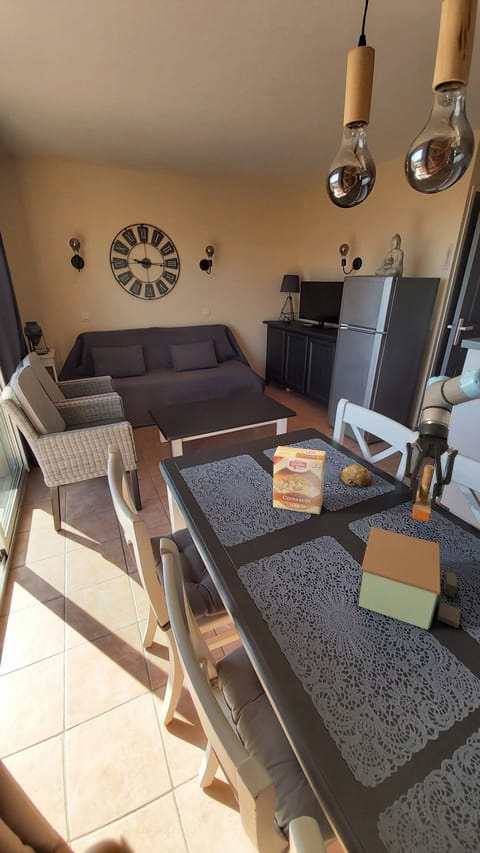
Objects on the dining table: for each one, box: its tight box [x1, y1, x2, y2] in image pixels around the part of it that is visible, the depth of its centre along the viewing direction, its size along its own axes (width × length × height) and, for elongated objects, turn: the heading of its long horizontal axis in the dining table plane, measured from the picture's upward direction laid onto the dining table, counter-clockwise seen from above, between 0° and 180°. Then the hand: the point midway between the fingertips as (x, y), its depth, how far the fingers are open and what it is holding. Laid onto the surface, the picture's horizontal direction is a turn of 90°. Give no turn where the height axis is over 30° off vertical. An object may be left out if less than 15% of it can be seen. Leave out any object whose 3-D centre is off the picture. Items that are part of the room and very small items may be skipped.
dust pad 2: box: [436, 601, 461, 629], centre depth 78 cm, size 4×4×2 cm
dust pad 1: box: [443, 571, 458, 598], centre depth 84 cm, size 4×4×2 cm
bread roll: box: [340, 463, 371, 488], centre depth 128 cm, size 10×10×8 cm
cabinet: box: [358, 526, 441, 630], centre depth 81 cm, size 16×15×12 cm
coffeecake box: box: [272, 445, 327, 515], centre depth 113 cm, size 15×7×20 cm, turn 73°
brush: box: [411, 464, 436, 523], centre depth 100 cm, size 10×4×14 cm, turn 155°
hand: (423, 505), depth 98 cm, fingers closed on brush, 4 cm apart
